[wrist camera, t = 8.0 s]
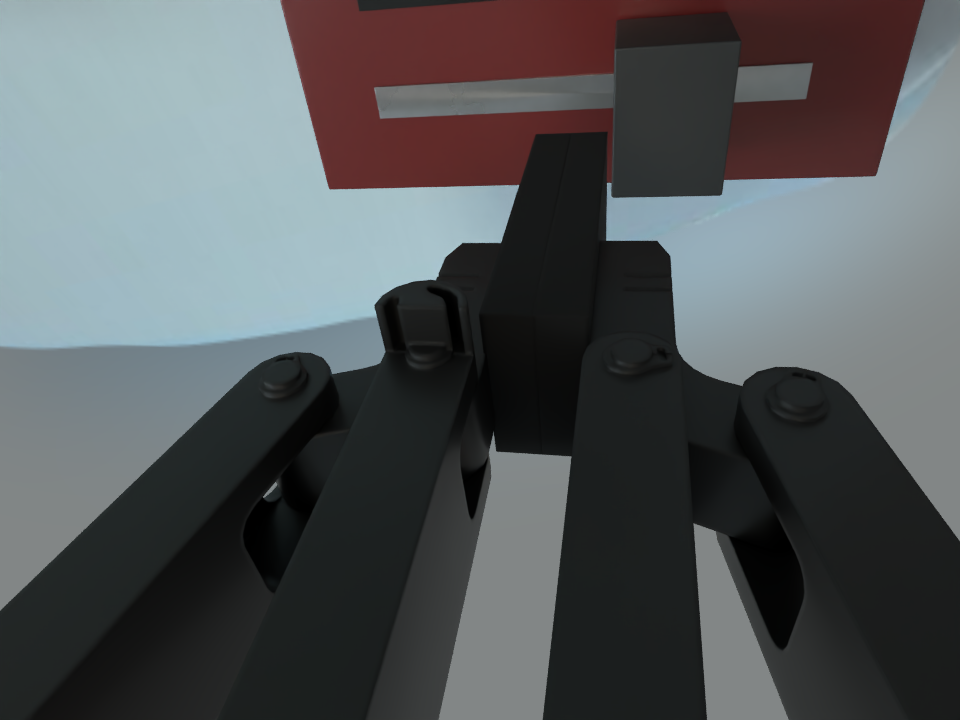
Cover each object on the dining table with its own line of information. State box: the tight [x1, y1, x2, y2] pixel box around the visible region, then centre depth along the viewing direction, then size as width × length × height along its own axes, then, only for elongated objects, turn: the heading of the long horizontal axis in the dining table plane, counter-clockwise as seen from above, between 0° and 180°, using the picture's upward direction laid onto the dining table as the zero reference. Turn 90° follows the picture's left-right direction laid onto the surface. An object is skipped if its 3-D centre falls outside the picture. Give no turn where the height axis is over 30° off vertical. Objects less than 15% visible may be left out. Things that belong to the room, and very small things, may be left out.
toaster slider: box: [611, 12, 742, 198], centre depth 19 cm, size 3×4×3 cm
